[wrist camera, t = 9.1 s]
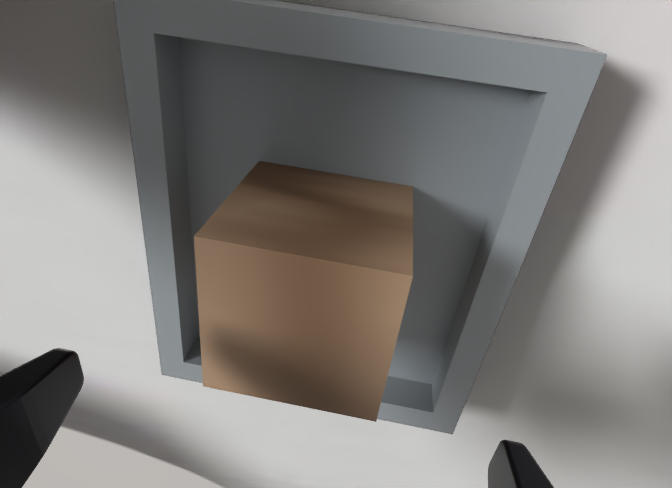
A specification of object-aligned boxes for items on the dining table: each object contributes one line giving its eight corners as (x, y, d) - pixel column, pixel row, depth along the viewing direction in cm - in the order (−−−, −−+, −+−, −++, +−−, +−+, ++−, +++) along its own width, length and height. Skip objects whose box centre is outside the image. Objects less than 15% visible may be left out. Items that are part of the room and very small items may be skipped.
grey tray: (185, 338, 20) (161, 374, 18) (155, -17, 13) (111, -17, 11) (448, 390, 19) (452, 434, 17) (577, 43, 12) (607, 54, 10)
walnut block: (255, 284, 17) (202, 385, 13) (259, 160, 14) (193, 236, 10) (385, 308, 17) (375, 421, 12) (413, 186, 14) (412, 276, 10)
